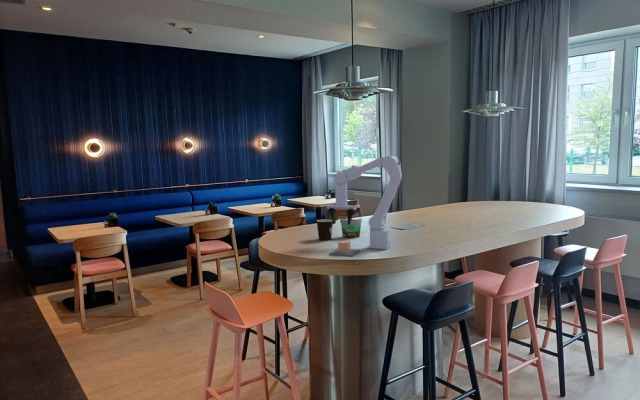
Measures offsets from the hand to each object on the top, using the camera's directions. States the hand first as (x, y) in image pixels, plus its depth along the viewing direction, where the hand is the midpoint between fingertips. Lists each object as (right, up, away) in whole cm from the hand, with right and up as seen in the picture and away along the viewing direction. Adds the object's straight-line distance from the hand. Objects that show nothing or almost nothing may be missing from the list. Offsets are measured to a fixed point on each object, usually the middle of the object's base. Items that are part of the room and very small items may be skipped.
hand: (341, 224), depth 229 cm
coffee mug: (-7, -9, +17) cm, 20 cm away
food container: (+7, -8, +21) cm, 24 cm away
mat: (0, -12, -17) cm, 21 cm away
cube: (0, -12, -17) cm, 21 cm away
